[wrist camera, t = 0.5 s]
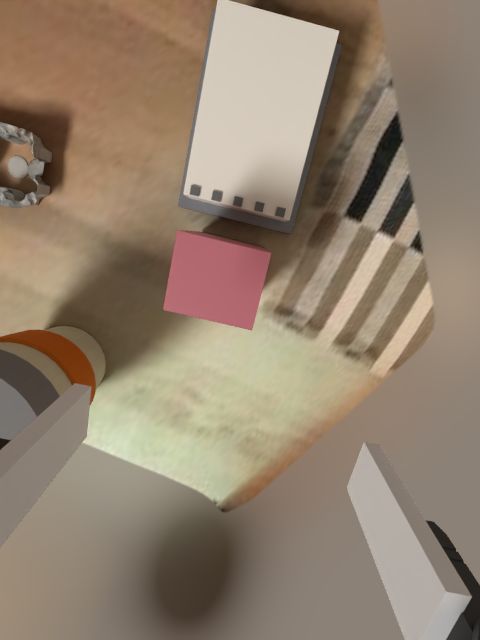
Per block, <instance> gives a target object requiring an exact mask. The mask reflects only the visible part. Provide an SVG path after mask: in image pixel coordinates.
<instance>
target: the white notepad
mask: <svg viewBox="0 0 480 640" xmlns="http://www.w3.org/2000/svg"><path fill="white" fill-rule="evenodd" d="M338 34H339V31H338V30H335V29H331V28H327V27H324V26H320V25H316V24H313V23H309V22H305V21H302V20H298V19H295V18H291V17H287V16H284V15H280V14H276V13H273V12H269V11H265V10H262V9H258V8H254V7H251V6H247V5H244V4H240V3H236V2H233V1H229V0H218V1H217V7H216V10H215V9H213V11H212V17H211V22H210V28H209V34H208V39H207V45H206V51H205V56H204V62H203V68H202V74H201V79H200V85H199V91H198V96H197V102H196V108H195V113H194V119H193V125H192V130H191V136H190V142H189V148H188V153H187V159H186V165H185V170H184V176H183V182H182V187H181V193H180V199H179V205H178V206H179V207H182V208H186V209H190V210H194V211H198V212H202V213H206V214H210V215H215V216H219V217H223V218H227V219H231V220H235V221H239V222H243V223H247V224H251V225H255V226H259V227H264V228H268V229H272V230H276V231H280V232H284V233H288V234H292V232H293V228H294V224H295V220H296V217H297V213H298V209H299V205H300V202H301V198H302V194H303V190H304V187H305V183H306V179H307V175H308V172H309V168H310V164H311V160H312V157H313V153H314V149H315V146H316V142H317V138H318V134H319V131H320V127H321V123H322V119H323V116H324V112H325V108H326V104H327V101H328V97H329V93H330V89H331V86H332V82H333V78H334V75H335V71H336V67H337V63H338V60H339V56H340V52H341V48H342V45H343V44H339V43H336V42H337V38H338Z"/></svg>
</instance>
